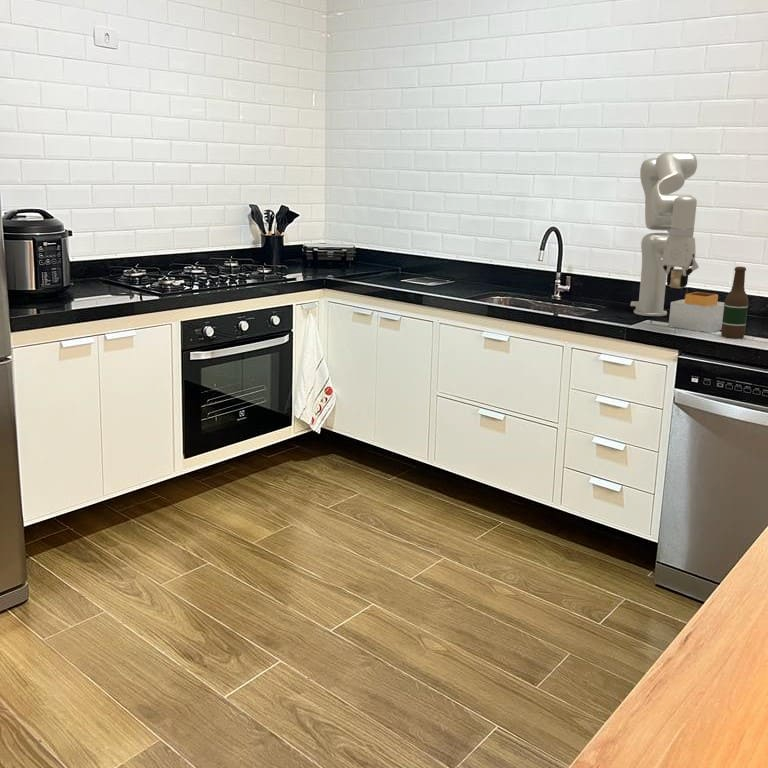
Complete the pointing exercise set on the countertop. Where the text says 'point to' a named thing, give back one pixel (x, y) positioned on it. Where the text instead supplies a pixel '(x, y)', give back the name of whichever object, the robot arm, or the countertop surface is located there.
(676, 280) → the bead
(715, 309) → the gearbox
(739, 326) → the beer bottle
